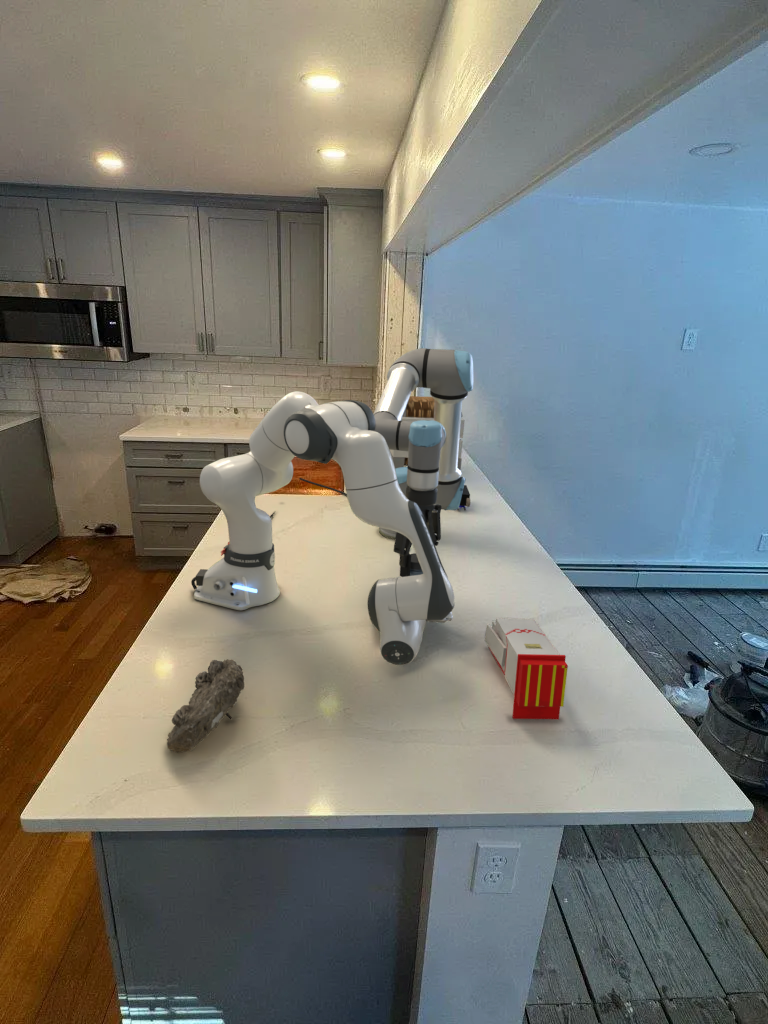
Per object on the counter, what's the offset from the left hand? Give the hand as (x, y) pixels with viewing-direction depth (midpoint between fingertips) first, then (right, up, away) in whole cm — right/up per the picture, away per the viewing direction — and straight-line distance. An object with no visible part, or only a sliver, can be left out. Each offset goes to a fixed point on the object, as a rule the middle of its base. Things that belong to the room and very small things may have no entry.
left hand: (414, 589), depth 146 cm
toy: (+21, -16, -22) cm, 35 cm away
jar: (0, -7, +1) cm, 7 cm away
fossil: (-41, -19, -38) cm, 59 cm away
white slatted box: (+9, +39, +129) cm, 135 cm away
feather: (-49, +19, +66) cm, 84 cm away
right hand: (0, +5, -3) cm, 6 cm away
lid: (0, +8, -4) cm, 9 cm away
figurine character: (+23, +22, +84) cm, 90 cm away
